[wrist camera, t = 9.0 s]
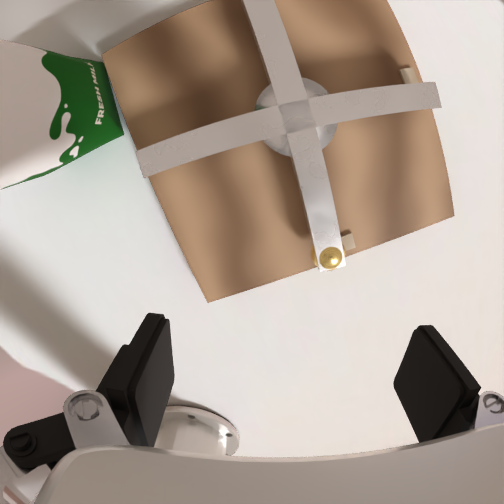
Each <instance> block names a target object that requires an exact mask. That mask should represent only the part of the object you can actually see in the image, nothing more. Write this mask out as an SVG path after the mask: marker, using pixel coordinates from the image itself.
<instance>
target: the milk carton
mask: <svg viewBox="0 0 504 504" xmlns="http://www.w3.org/2000/svg"><path fill="white" fill-rule="evenodd" d="M122 135H124V132H123V129H122V125H121V122H120V118H119V115H118V111H117V108H116V104H115V101H114V97H113V93H112V89H111V85H110V82H109V78H108V74H107V70H106V67H105V64H104V63H103V62H97V61H92V60H86V59H81V58H74V57H69V56H65V55H61V54H58V53H54V52H51V51H47V50H43V49H40V48H36V47H32V46H28V45H24V44H19V43H15V42H11V41H6V40H1V39H0V190H1V189H4V188H7V187H10V186H13V185H16V184H19V183H22V182H25V181H28V180H32V179H35V178H38V177H41V176H44V175H46V174H49V173H51V172H53V171H55V170H57V169H59V168H60V167H62V166H64V165H66V164H68V163H70V162H72V161H74V160H75V159H77V158H79V157H81V156H83V155H85V154H87V153H88V152H90V151H92V150H94V149H96V148H98V147H100V146H102V145H104V144H106V143H108V142H110V141H112V140H114V139H116V138H118V137H120V136H122Z"/></svg>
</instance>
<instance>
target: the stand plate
mask: <svg viewBox="0 0 504 504" xmlns="http://www.w3.org/2000/svg"><path fill="white" fill-rule="evenodd" d="M274 1H275V4H276V7H277V9H278V12H279V14H280V17H281V20H282V22H283V25H284V28H285V30H286V33H287V36H288V39H289V42H290V45H291V47H292V50H293V53H294V56H295V59H296V62H297V65H298V69H299V72H300V75H301V77H303V78H307V79H310V80H312V81H314V82H316V83H318V84H319V85H321V86H322V87H323V88H324V89H326V91H327V92H328V93H329V94H335V93H340V92H347V91H353V90H359V89H366V88H374V87H382V86H391V85H400V84H412V83H423V81H422V78H421V76H420V73H419V70H418V68H417V65H416V62H415V60H414V57H413V55H412V53H411V50H410V48H409V45H408V43H407V41H406V39H405V36H404V34H403V32H402V30H401V28H400V25H399V23H398V21H397V19H396V17H395V15H394V13H393V11H392V9H391V7H390V5H389V3H388V2H387V0H274ZM102 58H103V61H104V64H105V67H106V70H107V73H108V76H109V78H110V81H111V84H112V87H113V89H114V92H115V95H116V98H117V100H118V103H119V105H120V108H121V111H122V113H123V116H124V119H125V121H126V124H127V126H128V129H129V131H130V134H131V136H132V139H133V141H134V144H135V146H136V149H137V151H138V150H140V149H143V148H145V147H148V146H150V145H153V144H156V143H158V142H161V141H163V140H166V139H169V138H172V137H174V136H177V135H180V134H183V133H186V132H188V131H191V130H194V129H197V128H200V127H203V126H206V125H210V124H213V123H216V122H219V121H222V120H226V119H229V118H232V117H236V116H239V115H243V114H246V113H250V112H254V110H255V105H256V102H257V100H258V98H259V96H260V94H261V93H262V92H263V90H264V89H265V88H266V87H268V86H269V82H268V78H267V75H266V72H265V69H264V66H263V63H262V60H261V57H260V54H259V51H258V48H257V45H256V42H255V39H254V36H253V33H252V30H251V27H250V24H249V22H248V19H247V16H246V13H245V11H244V8H243V5H242V2H241V0H210V1H208V2H205V3H203V4H200V5H197V6H195V7H193V8H190V9H188V10H185V11H183V12H181V13H178V14H176V15H174V16H172V17H170V18H167V19H165V20H163V21H161V22H159V23H157V24H155V25H153V26H151V27H149V28H147V29H145V30H143V31H141V32H140V33H138V34H136V35H134V36H132V37H130V38H129V39H127V40H125V41H123V42H122V43H120V44H118V45H116V46H115V47H113V48H112V49H110V50H108V51H107V52H105V53H103V54H102ZM322 153H323V157H324V161H325V165H326V169H327V174H328V178H329V182H330V187H331V191H332V196H333V200H334V205H335V210H336V215H337V220H338V225H339V230H340V236H341V241H342V243H343V245H344V247H345V251H346V255H345V257H347V256H349V255H352V254H355V253H358V252H360V251H363V250H366V249H369V248H371V247H374V246H377V245H380V244H382V243H385V242H388V241H390V240H393V239H396V238H398V237H401V236H404V235H406V234H409V233H412V232H414V231H417V230H420V229H422V228H425V227H427V226H430V225H432V224H435V223H438V222H440V221H443V220H445V219H448V218H450V217H453V216H454V209H453V202H452V196H451V190H450V184H449V178H448V173H447V168H446V163H445V159H444V154H443V150H442V146H441V141H440V137H439V133H438V130H437V126H436V122H435V119H434V115H433V112H432V109H423V110H414V111H406V112H399V113H392V114H385V115H379V116H372V117H366V118H361V119H355V120H349V121H344V122H339V123H338V124H337V129H336V132H335V134H334V136H333V138H332V140H331V141H330V143H329V144H328V145H327V146H326V147H325V148H323V149H322ZM148 177H149V179H150V182H151V184H152V186H153V189H154V191H155V193H156V195H157V198H158V200H159V202H160V204H161V207H162V209H163V211H164V213H165V216H166V218H167V220H168V222H169V224H170V226H171V229H172V231H173V233H174V235H175V237H176V239H177V241H178V243H179V246H180V248H181V250H182V252H183V254H184V256H185V258H186V260H187V262H188V264H189V266H190V268H191V270H192V272H193V274H194V276H195V278H196V280H197V282H198V284H199V286H200V288H201V290H202V292H203V294H204V296H205V298H206V300H207V302H208V303H209V302H212V301H215V300H218V299H222V298H225V297H228V296H231V295H234V294H237V293H240V292H243V291H247V290H250V289H253V288H256V287H259V286H262V285H265V284H268V283H271V282H274V281H277V280H280V279H283V278H286V277H289V276H292V275H295V274H298V273H301V272H304V271H307V270H309V269H312V268H315V267H317V266H316V265H315V264H314V263H313V261H312V258H311V248H312V243H311V238H310V234H309V230H308V225H307V221H306V217H305V213H304V208H303V204H302V200H301V196H300V192H299V188H298V184H297V180H296V176H295V173H294V169H293V165H292V161H291V157H290V156H286V155H283V154H280V153H278V152H276V151H274V150H273V149H271V148H270V147H269V146H268V145H267V144H266V143H265V142H264V141H263V140H261V141H257V142H254V143H250V144H246V145H243V146H239V147H236V148H232V149H229V150H226V151H222V152H219V153H216V154H213V155H209V156H206V157H203V158H200V159H197V160H194V161H191V162H188V163H185V164H182V165H179V166H176V167H173V168H170V169H167V170H164V171H162V172H159V173H156V174H153V175H151V176H148Z"/></svg>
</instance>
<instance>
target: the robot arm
mask: <svg viewBox="0 0 504 504" xmlns="http://www.w3.org/2000/svg"><path fill="white" fill-rule="evenodd" d="M173 383H174V366H173V356H172V345H171V333H170V321H169V319H165V317H164V315H163V314H155V313H148V314H147V315H146V317H145V319H144V320H143V322H142V324H141V325H140V327H139V329H138V330H137V332H136V334H135V336H134V337H133V339H132V341H131V343H130V344H129V345H126V344H125V345H123V346H122V347H121V348H120V350H119V352H118V353H117V355H116V357H115V359H114V360H113V362H112V364H111V365H110V367H109V369H108V371H107V372H106V374H105V376H104V377H103V379H102V381H101V383H100V384H99V386H98V388H97V390H96V391H93V390H81V391H78V392H75V393H73V394H72V395H70V396H69V397H68V398H67V399H66V401H65V402H64V406H63V410H64V412H62V413H60V414H57V415H53V416H50V417H47V418H44V419H41V420H38V421H34V422H30V423H27V424H24V425H20V426H17V427H15V428H12V429H11V430H10V431H9V432H7V434H6V436H5V437H4V441H3V446H1V447H0V504H29V503H30V502H31V501H33V500H34V499H36V500H35V502H34V504H504V397H503V396H501V395H500V394H498V393H496V392H493V391H486V392H483V393H482V394H481V395H480V396H479V394H478V392H479V391H480V389H481V386H480V385H479V384H478V382H477V381H476V380H475V378H474V377H473V376H472V374H471V373H470V372H469V370H468V369H467V368H466V366H465V365H464V364H463V362H462V361H461V360H460V359H459V357H458V356H457V355H456V353H455V352H454V351H453V350H452V348H451V347H450V346H449V345H448V343H447V342H446V341H445V340H444V339H443V337H442V336H441V335H440V334H439V332H438V331H437V330H436V329H435V328H434V326H432V325H420V326H418V328H417V329H415V330H414V332H413V334H412V337H411V339H410V342H409V345H408V347H407V350H406V352H405V355H404V357H403V360H402V362H401V365H400V367H399V370H398V372H397V374H396V377H395V379H394V389H395V391H396V393H397V395H398V397H399V399H400V401H401V403H402V406H403V408H404V410H405V412H406V414H407V416H408V419H409V421H410V423H411V425H412V427H413V430H414V432H415V434H416V436H417V439H418V441H419V443H416V444H411V445H406V446H401V447H395V448H389V449H383V450H376V451H369V452H361V453H353V454H343V455H331V456H315V457H242V456H231V455H233V454H234V453H235V452H236V451H237V449H238V447H239V434H238V432H237V430H236V429H235V427H233V426H232V425H231V424H230V423H229V422H228V421H226V420H225V419H223V418H222V417H220V416H218V415H216V414H213V413H211V412H208V411H205V410H202V409H198V408H193V407H187V406H167V402H168V399H169V396H170V393H171V390H172V386H173ZM166 406H167V407H166ZM37 493H39V494H38V496H37V497H36V496H35V495H36V494H37Z"/></svg>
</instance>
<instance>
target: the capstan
mask: <svg viewBox="0 0 504 504" xmlns="http://www.w3.org/2000/svg"><path fill="white" fill-rule="evenodd" d="M241 2H242V5H243V8H244V11H245V13H246V16H247V19H248V22H249V24H250V27H251V30H252V33H253V36H254V39H255V42H256V45H257V48H258V51H259V54H260V57H261V60H262V63H263V66H264V69H265V72H266V75H267V78H268V82H269V86H268V87H266V88H265V89H264V90H263V92H262V93H261V94H260V96H259V98H258V100H257V102H256V105H255V110H254V112H250V113H246V114H243V115H239V116H236V117H232V118H229V119H226V120H222V121H219V122H216V123H213V124H210V125H206V126H203V127H200V128H197V129H194V130H191V131H188V132H186V133H183V134H180V135H177V136H174V137H172V138H169V139H166V140H163V141H161V142H158V143H156V144H153V145H150V146H148V147H145V148H143V149H140V150H138V151H136V155H137V158H138V162H139V165H140V168H141V171H142V174H143V177H144V178H145V177H148V176H151V175H153V174H156V173H159V172H162V171H164V170H167V169H170V168H173V167H176V166H179V165H182V164H185V163H188V162H191V161H194V160H197V159H200V158H203V157H206V156H209V155H213V154H216V153H219V152H222V151H226V150H229V149H232V148H236V147H239V146H243V145H246V144H250V143H254V142H257V141H261V140H263V141H264V142H265V143H266V144H267V145H268V146H269V147H270V148H271V149H273V150H274V151H276V152H278V153H280V154H283V155H286V156H290V157H291V161H292V165H293V169H294V173H295V176H296V180H297V184H298V188H299V192H300V196H301V200H302V204H303V208H304V213H305V217H306V221H307V225H308V230H309V234H310V238H311V243H312V248H311V258H312V261H313V263H314V264H315V265H316V266H317V267H318V269H319V271H320V272H323V271H331V270H335V269H337V268H338V267H342V266H346V264H345V255H346V251H345V247H344V245H343V243H342V241H341V236H340V230H339V225H338V220H337V215H336V210H335V205H334V200H333V196H332V191H331V187H330V182H329V178H328V174H327V169H326V165H325V161H324V157H323V153H322V149H323V148H325V147H326V146H327V145H328V144H329V143H330V141H331V140H332V138H333V136H334V134H335V132H336V129H337V124H338V123H339V122H344V121H349V120H355V119H361V118H366V117H372V116H379V115H385V114H392V113H399V112H406V111H414V110H423V109H432V108H442V107H441V103H440V99H439V94H438V91H437V87H436V83H435V82H425V83H412V84H400V85H391V86H382V87H374V88H366V89H359V90H353V91H347V92H340V93H335V94H329V93H328V92H327V91H326V89H324V88H323V87H322V86H321V85H319V84H318V83H316V82H314V81H312V80H310V79H307V78H303V77H301V75H300V72H299V69H298V65H297V62H296V59H295V56H294V53H293V50H292V47H291V45H290V42H289V39H288V36H287V33H286V30H285V28H284V25H283V22H282V20H281V17H280V14H279V12H278V9H277V7H276V4H275V1H274V0H241Z"/></svg>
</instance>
